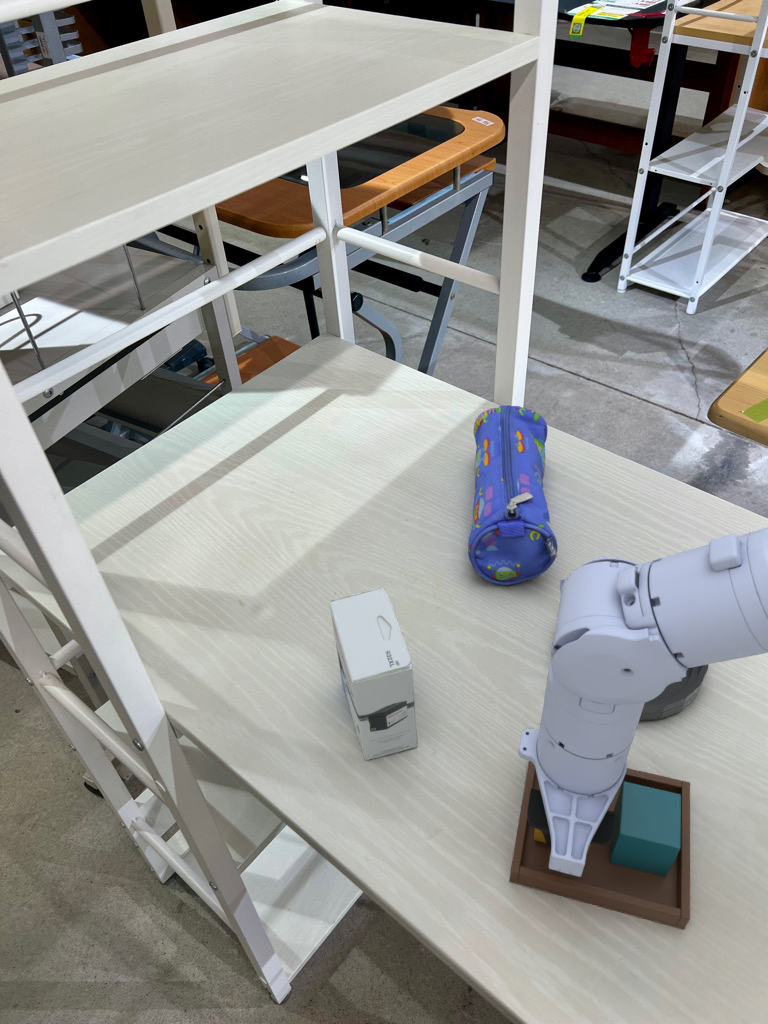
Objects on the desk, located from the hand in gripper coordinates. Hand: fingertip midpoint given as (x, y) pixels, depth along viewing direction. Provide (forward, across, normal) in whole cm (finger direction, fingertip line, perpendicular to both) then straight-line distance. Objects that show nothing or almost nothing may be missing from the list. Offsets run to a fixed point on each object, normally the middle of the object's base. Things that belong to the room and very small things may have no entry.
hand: (565, 815), depth 56 cm
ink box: (+2, -6, -17) cm, 18 cm away
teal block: (+2, 0, +6) cm, 6 cm away
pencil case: (+2, -33, -10) cm, 34 cm away
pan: (+2, -17, +4) cm, 18 cm away
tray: (+2, 0, +3) cm, 3 cm away
